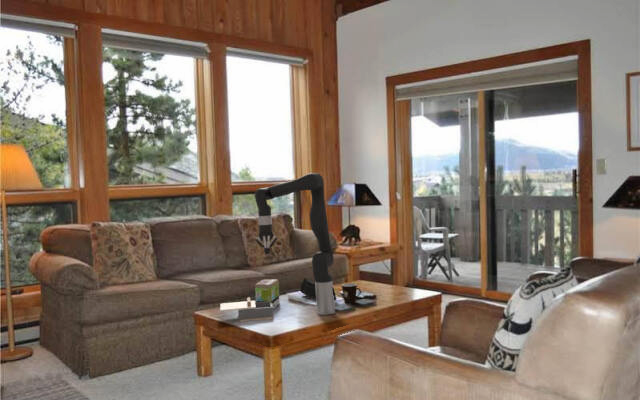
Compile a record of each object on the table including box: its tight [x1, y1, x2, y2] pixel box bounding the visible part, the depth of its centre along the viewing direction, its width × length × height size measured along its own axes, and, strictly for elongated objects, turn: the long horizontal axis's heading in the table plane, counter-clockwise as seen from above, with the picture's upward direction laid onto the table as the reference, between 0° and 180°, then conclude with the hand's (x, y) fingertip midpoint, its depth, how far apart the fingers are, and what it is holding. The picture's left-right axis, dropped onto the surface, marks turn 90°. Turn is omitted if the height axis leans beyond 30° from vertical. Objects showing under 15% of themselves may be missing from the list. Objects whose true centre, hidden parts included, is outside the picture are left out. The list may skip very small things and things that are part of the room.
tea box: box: [254, 279, 280, 309], centre depth 319 cm, size 15×10×15 cm
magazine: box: [300, 277, 337, 302], centre depth 332 cm, size 17×3×30 cm
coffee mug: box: [341, 282, 362, 304], centre depth 319 cm, size 12×9×10 cm
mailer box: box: [237, 301, 274, 322], centre depth 299 cm, size 18×14×6 cm
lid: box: [219, 297, 256, 312], centre depth 298 cm, size 18×14×3 cm
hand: (267, 254), depth 313 cm, fingers closed
